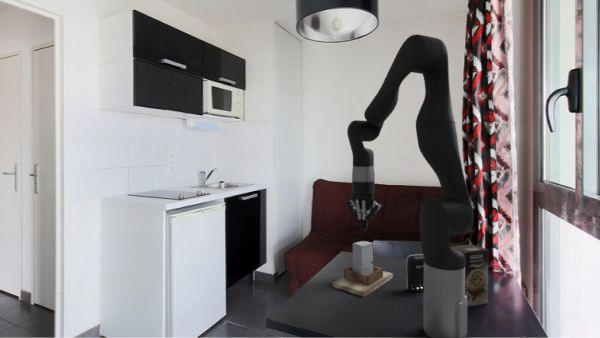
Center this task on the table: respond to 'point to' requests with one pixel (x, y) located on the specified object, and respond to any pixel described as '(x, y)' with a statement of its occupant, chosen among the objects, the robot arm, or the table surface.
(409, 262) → the battery charger
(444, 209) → the robot arm
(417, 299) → the table surface
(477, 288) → the coffee box
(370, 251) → the skincare box
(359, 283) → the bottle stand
